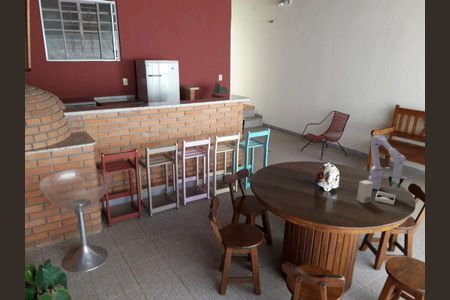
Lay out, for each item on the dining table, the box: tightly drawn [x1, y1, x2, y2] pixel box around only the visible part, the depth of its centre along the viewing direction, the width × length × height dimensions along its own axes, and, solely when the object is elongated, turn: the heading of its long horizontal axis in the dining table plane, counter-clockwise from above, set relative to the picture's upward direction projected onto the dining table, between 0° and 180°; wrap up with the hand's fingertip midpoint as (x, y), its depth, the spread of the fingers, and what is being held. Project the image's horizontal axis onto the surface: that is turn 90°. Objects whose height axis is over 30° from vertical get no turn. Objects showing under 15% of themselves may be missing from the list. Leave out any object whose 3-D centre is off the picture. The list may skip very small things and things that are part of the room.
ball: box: [390, 182, 399, 190], centre depth 243 cm, size 5×5×5 cm
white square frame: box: [374, 190, 396, 206], centre depth 242 cm, size 13×13×3 cm
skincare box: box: [356, 179, 373, 204], centre depth 237 cm, size 8×7×16 cm
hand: (394, 186), depth 243 cm, fingers closed on ball, 5 cm apart
